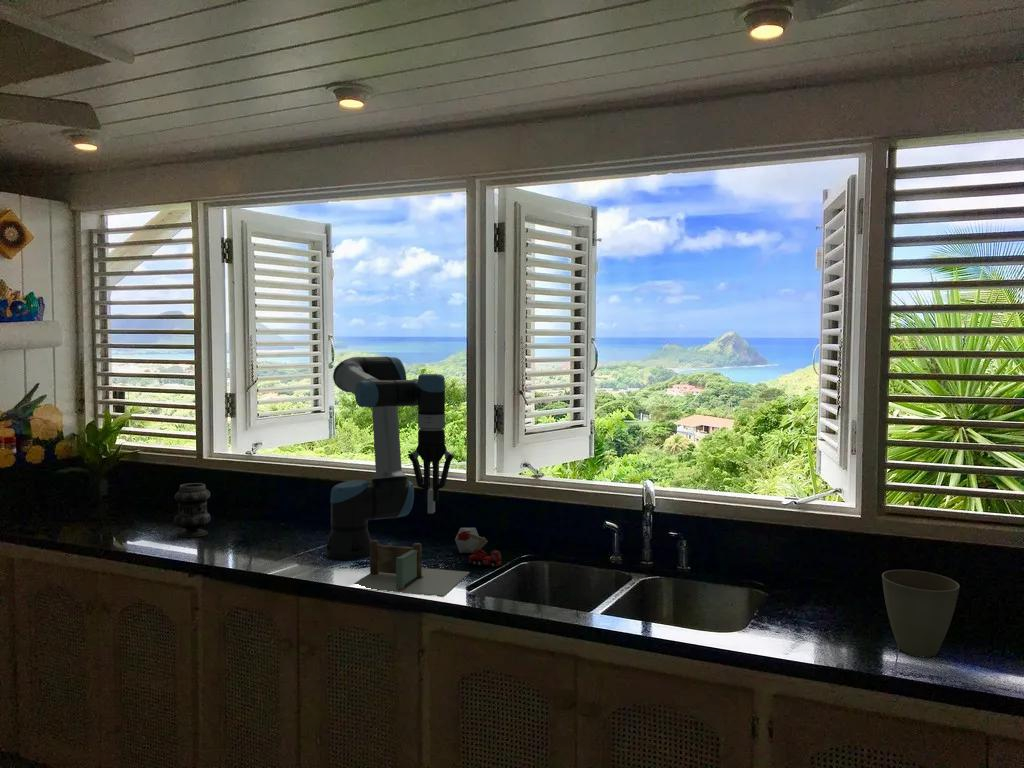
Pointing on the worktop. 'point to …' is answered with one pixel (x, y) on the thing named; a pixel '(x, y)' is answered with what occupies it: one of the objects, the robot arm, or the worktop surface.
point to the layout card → (417, 582)
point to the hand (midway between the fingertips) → (431, 512)
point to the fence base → (391, 557)
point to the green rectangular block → (406, 568)
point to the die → (467, 541)
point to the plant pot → (919, 609)
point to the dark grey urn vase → (192, 509)
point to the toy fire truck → (480, 555)
